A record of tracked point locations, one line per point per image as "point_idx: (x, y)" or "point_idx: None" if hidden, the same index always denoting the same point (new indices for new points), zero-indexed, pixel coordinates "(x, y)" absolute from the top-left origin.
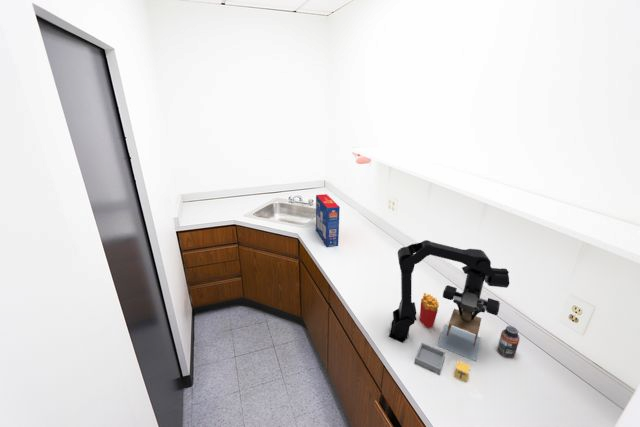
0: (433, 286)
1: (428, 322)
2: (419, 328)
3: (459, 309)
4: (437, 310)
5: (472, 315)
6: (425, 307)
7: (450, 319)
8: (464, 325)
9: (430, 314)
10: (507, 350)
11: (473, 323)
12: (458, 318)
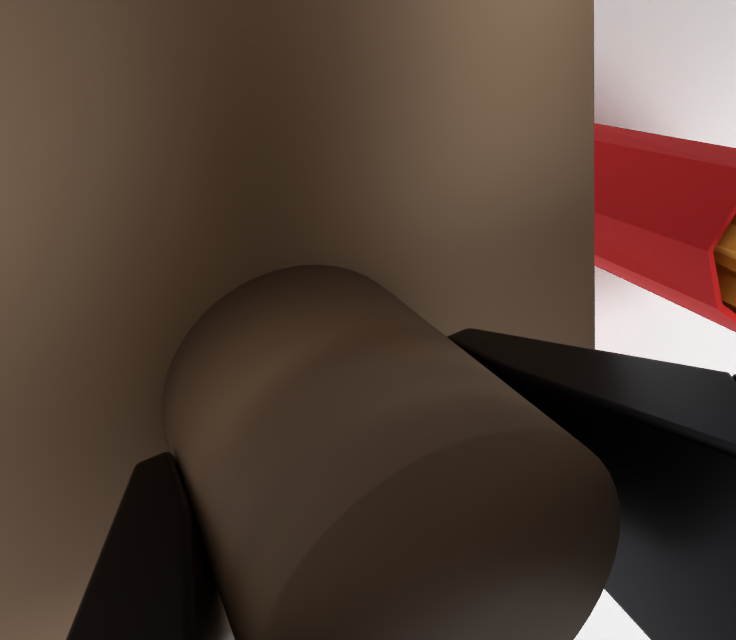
0: (635, 630)
1: (595, 133)
2: (600, 32)
3: (705, 386)
4: (710, 253)
5: (199, 580)
6: None
7: (588, 18)
8: (198, 70)
9: (708, 153)
10: None
11: (53, 408)
12: (443, 245)
